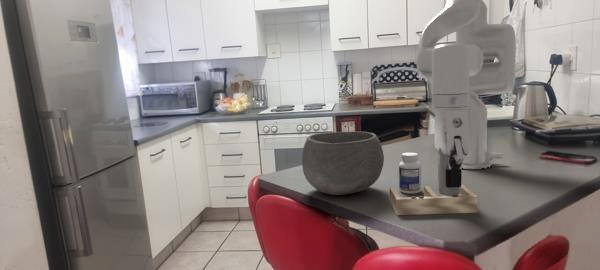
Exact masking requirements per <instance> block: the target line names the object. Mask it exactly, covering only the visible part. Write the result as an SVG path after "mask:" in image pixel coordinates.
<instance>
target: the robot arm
mask: <svg viewBox="0 0 600 270" xmlns="http://www.w3.org/2000/svg"><path fill="white" fill-rule="evenodd" d="M453 33H455V42H454V43H443V44H437V43H438V42H439V41H440V40H441V39H444V38H445V37H447V36H449V35H451V34H453ZM516 39H517V38H516V31H515V29H514V27H513V26H512V25H511V24H509V23H503V22H502V23H494V24H493V23H492V24H488V6H487V4H486V3H485V2H484V1H483V0H443V7H442V10H441V11H440V12H439V13H437V14H436V15H435V16H434V17H433V18H431V20H430V21H429V22H428V23H427V24H426V26H425V27H424V28H423V30H422V32H421V34H420V38H419V42H418V48H417V54H416V70H417V72H418V74H419V75H420V76H421V77H422V78H424V79H425V78H426V79H431V110H433V111H435V114H434V134H433V135H434V137H433V138H434V139H433V140H434V147H435V149H436V150H437V151H439V148H440V149H441V151H442V153H443V154H445V155H446V156H447V169H446V187H447V188H453V187H461V185H462V177H463V176H462V170H463V169H464V170H483V169H482V168H484V169H488V168H487V167H489V168H491V167H492V166H491V165H492V160H493V159H494V160H502V159H504V154H503V152H494V151H491V152H490V151H489V150H487V143H488V142H487V137H488V135H487V133H488V131H487V130H488V108H487V106H486V105H485V103H484V102H483V100H481V98H479V96H482V95H484V96H485V95H507V94H510V93H511V92H512V91H513V89H514V87H515V83H516V82H515V81H516V53H517V52H516V50H517V48H516V43H517V41H516ZM436 44H437V45H436ZM486 58H495V59H497V60H498V61H491V62H484V59H486ZM450 152H455V155H450V154H451V153H450ZM437 154H438V155H439V152H437ZM451 158H455V159H453V160H452V162H451ZM437 160H438V166H437V167H438V170H437V171H438V175H437V176H438V179H437V180H439V156H438V158H437ZM490 166H491V167H490ZM462 168H463V169H462Z"/></svg>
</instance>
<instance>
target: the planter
mask: <svg viewBox="0 0 600 270" xmlns="http://www.w3.org/2000/svg"><path fill="white" fill-rule="evenodd" d="M438 153H439V154H438V157H439V162H438V164H439V179H438V194H440V195H441V196H452V195H459V194H460V187H453V188H447V187H446V169H447V156H446V155H445V154H443V153H442V151H441V149H440V148H439V150H438ZM450 153H451V154H450V155H455V152H450ZM453 159H455V158H451V162H452V160H453Z"/></svg>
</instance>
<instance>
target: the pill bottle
mask: <svg viewBox="0 0 600 270" xmlns="http://www.w3.org/2000/svg"><path fill="white" fill-rule="evenodd" d="M418 160H419V154H418V153H417V152H403V153H401V161H400V162H399V164H398V177H399V182H398V185H399V191H400V192H401V193H403V194H409V195H410V194H418V193H420V192H421V191H422V165H421V162H420V161H418Z"/></svg>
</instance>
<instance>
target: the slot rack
mask: <svg viewBox="0 0 600 270" xmlns="http://www.w3.org/2000/svg"><path fill="white" fill-rule="evenodd" d="M478 201H479V197H478V195H476V194H475V193H473V192H472V191H471V190H470V189H469V188H467V187H466V186H465V185H464V184H461V187H460V194H459V195H452V196H446V195H440V196H438V195H437V194H436V193H435V192H434V191H433V190H432V188H431V187H429V186H428V185H426V186H425V185H424V186H423V195H418V196H415V195H413V196H410V197H405V196H404V197H401V196H400V195H399V193H398V191H397V190H396V188H395V187H389V202H390V204H391V206H392V209H393V211H394V212H395V214H396V215H397V216H407V215H408V216H410V215H442V214H444V215H445V214H449V215H450V214H474V213H475V214H478V205H479V203H478Z"/></svg>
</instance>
